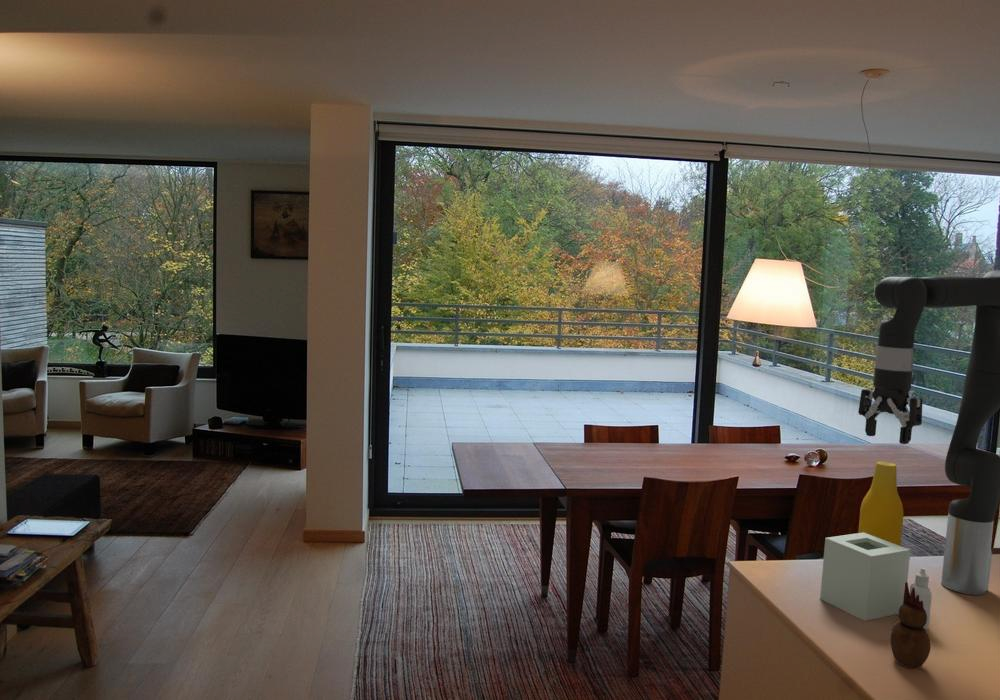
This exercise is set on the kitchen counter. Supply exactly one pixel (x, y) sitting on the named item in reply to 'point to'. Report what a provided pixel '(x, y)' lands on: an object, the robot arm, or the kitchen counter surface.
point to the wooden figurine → (910, 632)
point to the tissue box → (864, 575)
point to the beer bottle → (882, 506)
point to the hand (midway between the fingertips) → (886, 439)
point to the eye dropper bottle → (923, 592)
